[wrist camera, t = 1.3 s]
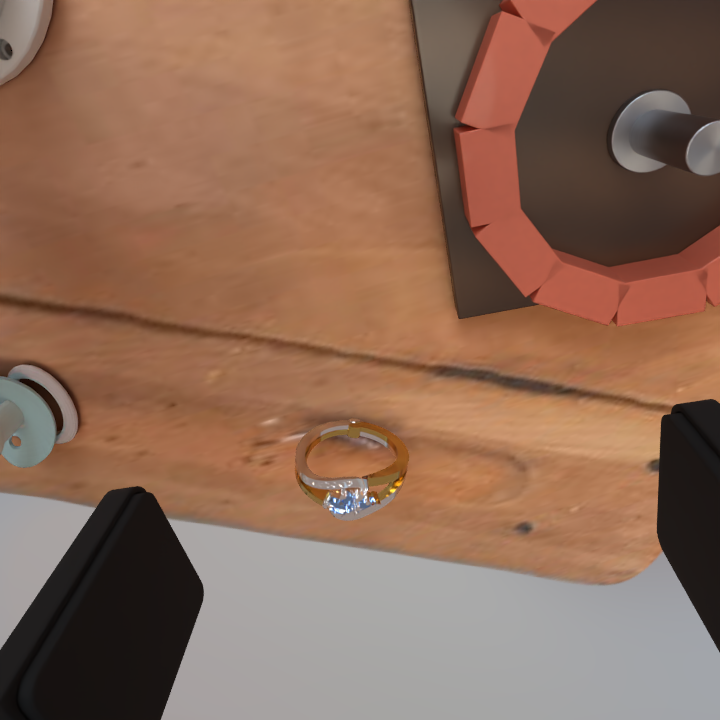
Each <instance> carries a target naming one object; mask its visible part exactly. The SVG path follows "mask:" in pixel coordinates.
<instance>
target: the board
mask: <svg viewBox="0 0 720 720" xmlns="http://www.w3.org/2000/svg"><path fill="white" fill-rule="evenodd" d="M502 1H503V0H409V6H410V12H411V19H412V26H413V32H414V39H415V45H416V52H417V58H418V65H419V71H420V78H421V85H422V91H423V98H424V104H425V111H426V117H427V124H428V130H429V137H430V143H431V150H432V157H433V163H434V170H435V176H436V183H437V189H438V196H439V202H440V209H441V216H442V222H443V229H444V235H445V242H446V248H447V255H448V261H449V268H450V274H451V281H452V288H453V294H454V301H455V307H456V311H457V315H458V318H459V319H463V318H469V317H474V316H479V315H485V314H490V313H496V312H501V311H507V310H512V309H517V308H523V307H528V306H534V305H539V304H537V303H534V302H533V301H532V299H531V298H530V296H529V295H528V296H527V297H525V296H524V295H523V294H522V293H521V291H520V290H519V289H518V288H517V287H516V285H515V284H514V283H513V282H512V281H511V279H510V278H509V277H508V276H507V275H506V273H505V272H504V271H503V270H502V269H501V267H500V266H499V265H498V264H497V263H496V261H495V260H494V259H493V258H492V257H491V255H490V254H489V253H488V252H487V251H486V249H485V248H484V247H483V246H482V244H481V243H480V242H479V241H478V240H477V238H476V237H475V235H474V234H473V232H472V230H471V228H470V226H469V222H468V220H467V218H466V216H465V213H464V206H463V198H462V190H461V183H460V175H459V168H458V160H457V153H456V145H455V137H454V130H453V129H454V128H456V127H460V126H465V125H466V124H463V123H461V122H460V121H458V120H457V119H456V118H455V115H456V112H457V109H458V107H459V104H460V101H461V98H462V96H463V93H464V90H465V87H466V85H467V82H468V79H469V76H470V74H471V71H472V68H473V65H474V63H475V60H476V57H477V54H478V52H479V49H480V46H481V43H482V41H483V38H484V35H485V32H486V30H487V27H488V24H489V21H490V19H491V16H492V15H495V14H497V13H499V12H501V11H502V9H501V8H500V6H499V4H500V3H501V2H502ZM654 89H659V90H669V91H672V92H675V93H677V94H678V95H680V96H681V97H682V98H683V99H684V100H685V101H686V102H687V104H688V106H689V108H690V111H691V115H696V116H702V117H709V118H715V119H720V0H597V1H596V2H595V3H594V4H593V5H592V6H591V7H590V8H588V9H587V10H586V11H585V12H584V13H583V14H582V15H581V16H580V17H579V18H578V19H576V20H575V21H574V22H573V23H572V24H571V25H570V26H569V27H568V28H567V29H566V30H565V31H563V32H562V33H561V34H560V35H559V36H558V37H557V38H556V39H555V40H554V41H553V42H552V43H551V45H550V48H549V50H548V52H547V55H546V57H545V59H544V62H543V64H542V67H541V69H540V71H539V74H538V76H537V79H536V81H535V83H534V86H533V88H532V90H531V93H530V95H529V98H528V100H527V102H526V105H525V107H524V110H523V112H522V114H521V117H520V119H519V121H518V124H517V126H516V129H515V141H516V153H517V166H518V178H519V190H520V203H521V209H522V211H523V212H524V213H525V214H526V216H527V217H528V218H529V220H530V221H531V222H532V224H533V225H534V226H535V227H536V229H537V230H538V231H539V233H540V234H541V235H542V237H543V238H544V239H545V240H546V242H547V243H548V244H549V246H550V247H551V248H552V249H555V250H558V251H561V252H564V253H567V254H570V255H573V256H576V257H579V258H582V259H585V260H588V261H591V262H594V263H597V264H600V265H603V266H606V267H612V266H618V265H623V264H628V263H633V262H639V261H644V260H649V259H654V258H660V257H665V256H670V255H675V254H679V253H680V252H682V251H683V250H684V249H686V248H687V247H689V246H690V245H692V244H693V243H695V242H696V241H698V240H699V239H700V238H702V237H703V236H705V235H706V234H708V233H709V232H711V231H712V230H714V229H715V228H717V227H718V226H719V225H720V172H719V173H717V174H715V175H711V176H699V175H696V174H693V173H690V172H687V171H684V170H681V169H679V168H676V167H673V166H670V165H666V166H664V167H662V168H660V169H658V170H656V171H652V172H648V173H635V172H631V171H628V170H626V169H624V168H622V167H620V166H619V165H618V164H616V163H615V161H614V160H613V159H612V157H611V155H610V153H609V150H608V144H607V136H608V130H609V127H610V124H611V122H612V119H613V118H614V116H615V114H616V113H617V111H618V110H619V109H620V108H621V106H622V105H623V104H624V103H625V102H627V101H628V100H629V99H630V98H632V97H634V96H635V95H637V94H639V93H641V92H644V91H648V90H654Z"/></svg>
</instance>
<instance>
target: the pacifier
mask: <svg viewBox="0 0 720 720" xmlns="http://www.w3.org/2000/svg"><path fill="white" fill-rule="evenodd" d="M20 379H30V380H33V381H35V382H37V383H39V384H40V385H42V386H43V387H44V388H45V389H46V390H48V391H49V392H50V394H51V395H52V396H53V397H54V398H55V400H56V401H57V403H58V405H59V407H60V409H61V412H62V415H63V420H64V424H63V429H62V430H61V431H57V429H56V422H55V418H54V415H53V413H52V411H51V409H50V407H49V406H48V404H47V403H46V401H45V400H44V399H43V398H42V397H41V396H40V395H39V394H38V393H37V392H36V391H35V390H34V389H32V388H31V387H29V386H27V385H26V384H23V383H21V382H19V380H20ZM77 430H78V417H77V411H76V409H75V406H74V404H73V401H72V399H71V398H70V396H69V394H68V393H67V391H66V390H65V389H64V388H63V386H62V385H61V384H60V383H59V382H58V381H57V380H56V379H55V378H54V377H53V376H51V375H50V374H49V373H47V372H46V371H44V370H42V369H41V368H38V367H35V366H32V365H19V366H16V367H14V368H13V369H12V370H11V371H10V372H9V374H8V377H3V376H0V455H1V454H2V455H3V456H4V458H5V459H6V460H8V461H9V462H10V463H11V464H13V465H14V466H18V467H23V468H26V467H32V466H34V465H37V464H38V463H40V462H41V461H42V460H44V459H45V458H46V457H47V456H48V455H49V453H50V452H51V450H52V449H53V446H54V444H55V443H56V444H63V443H66V442H69V441H71V440H72V439H73V438H74V437H75V435H76V433H77ZM12 436H17V437H19V438H20V440H21V446H15V445H14V444H13V443H12Z"/></svg>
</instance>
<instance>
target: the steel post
mask: <svg viewBox="0 0 720 720" xmlns="http://www.w3.org/2000/svg"><path fill="white" fill-rule="evenodd" d="M607 144H608V150H609V153H610V155H611V157H612V159H613V160H614V161H615V163H616V164H618V165H619V166H620V167H622V168H624V169H626V170H628V171H631V172H635V173H648V172H652V171H656V170H658V169H660V168H662V167H664V166H666V165H670V166H673V167H676V168H679V169H681V170H684V171H687V172H690V173H693V174H696V175H699V176H711V175H715V174H717V173H719V172H720V119H715V118H709V117H702V116H696V115H691V111H690V108H689V106H688V104H687V102H686V101H685V100H684V99H683V98H682V97H681V96H680V95H678V94H677V93H675V92H672V91H669V90H659V89H654V90H648V91H644V92H641V93H639V94H637V95H635V96H634V97H632V98H630V99H629V100H628V101H627V102H625V103H624V104H623V105H622V106H621V108H620V109H619V110H618V111H617V113H616V114H615V116H614V118H613V119H612V122H611V124H610V127H609V130H608V136H607Z"/></svg>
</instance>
